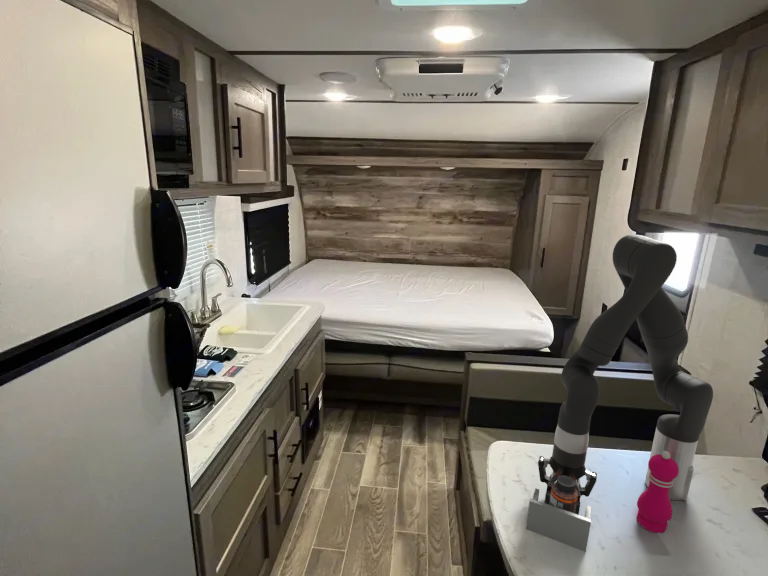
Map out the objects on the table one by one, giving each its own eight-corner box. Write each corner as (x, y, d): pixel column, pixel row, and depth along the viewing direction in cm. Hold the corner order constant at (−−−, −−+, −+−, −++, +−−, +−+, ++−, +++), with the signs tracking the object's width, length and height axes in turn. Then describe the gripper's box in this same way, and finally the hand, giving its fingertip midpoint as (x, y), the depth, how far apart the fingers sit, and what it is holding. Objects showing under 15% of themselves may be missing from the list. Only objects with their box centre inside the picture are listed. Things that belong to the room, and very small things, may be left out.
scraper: (580, 498, 112) (583, 478, 110) (578, 517, 106) (581, 497, 104) (548, 487, 116) (550, 468, 114) (544, 505, 109) (546, 485, 108)
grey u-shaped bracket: (588, 518, 105) (593, 491, 103) (585, 551, 96) (590, 522, 94) (533, 499, 111) (537, 473, 109) (525, 529, 102) (529, 500, 100)
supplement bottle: (569, 511, 107) (575, 473, 104) (576, 530, 101) (583, 490, 99) (544, 509, 108) (550, 470, 105) (550, 528, 102) (556, 488, 99)
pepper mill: (639, 507, 109) (653, 438, 104) (672, 523, 104) (688, 452, 99) (630, 522, 104) (644, 451, 99) (664, 540, 99) (681, 466, 94)
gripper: (603, 443, 105) (593, 501, 110) (542, 427, 112) (535, 482, 116) (602, 461, 99) (592, 521, 103) (537, 442, 105) (530, 500, 110)
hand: (562, 500), depth 110 cm, fingers open, 5 cm apart
